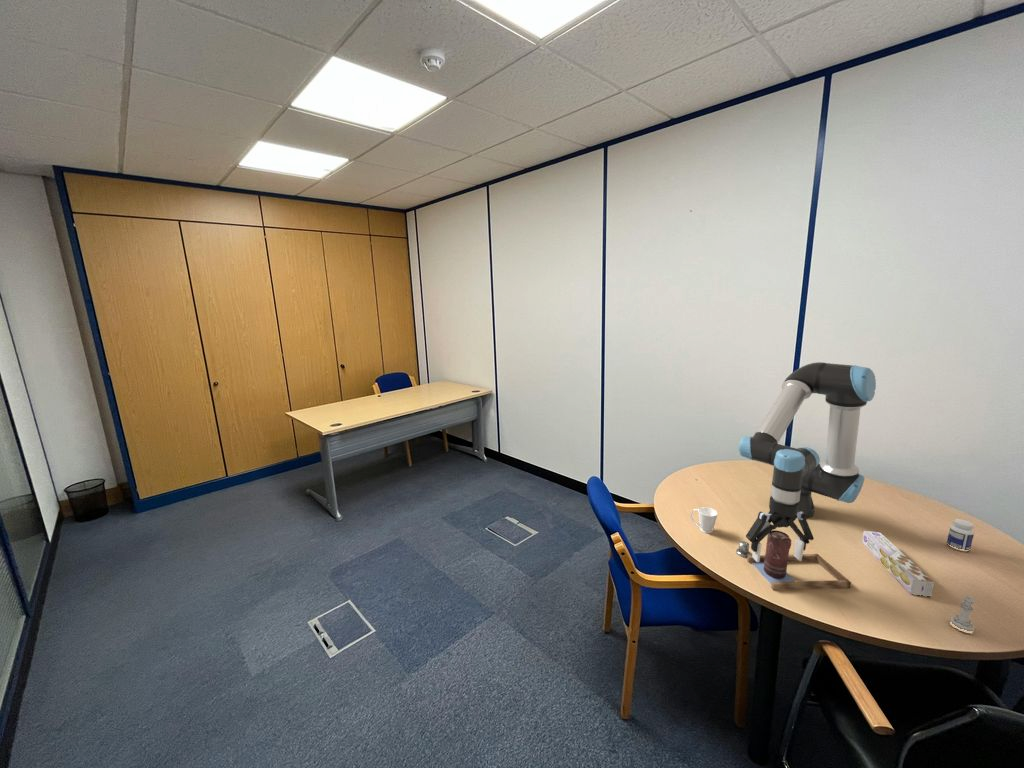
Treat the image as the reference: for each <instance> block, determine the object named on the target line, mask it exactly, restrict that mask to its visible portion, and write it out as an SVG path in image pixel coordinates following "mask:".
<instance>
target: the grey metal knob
mask: <svg viewBox="0 0 1024 768" xmlns="http://www.w3.org/2000/svg"><path fill="white" fill-rule="evenodd" d="M738 545H739V546H738V548H736V552H735V553H736V554H737V555H738V556H739V557H742V558H744V559H747V557H748V556H752V555H751V553H752V552H751V551H750V550H749V549H750V543H749V542H747V541H744V540H741V541H739V543H738Z"/></svg>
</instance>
